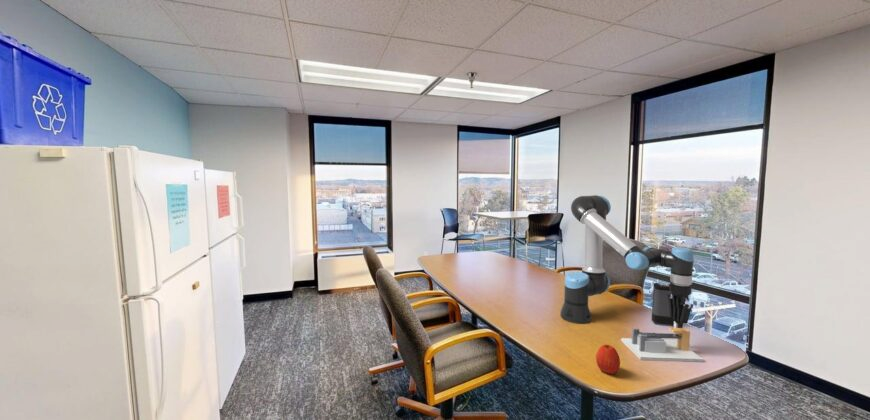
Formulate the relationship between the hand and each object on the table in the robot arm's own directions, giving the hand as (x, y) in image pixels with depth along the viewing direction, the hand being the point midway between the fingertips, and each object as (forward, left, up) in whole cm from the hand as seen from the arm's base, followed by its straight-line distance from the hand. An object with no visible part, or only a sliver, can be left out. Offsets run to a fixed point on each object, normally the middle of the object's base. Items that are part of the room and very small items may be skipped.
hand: (677, 336), depth 142 cm
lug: (-2, -4, -4) cm, 5 cm away
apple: (-39, -21, -5) cm, 44 cm away
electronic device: (+8, +24, -5) cm, 26 cm away
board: (-10, -4, -5) cm, 11 cm away
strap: (-10, -4, +1) cm, 11 cm away
